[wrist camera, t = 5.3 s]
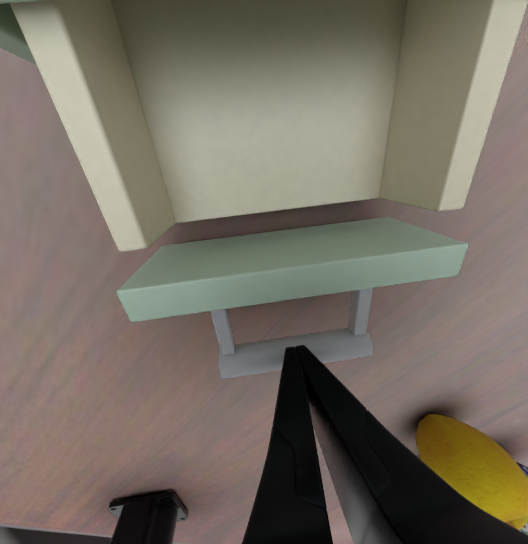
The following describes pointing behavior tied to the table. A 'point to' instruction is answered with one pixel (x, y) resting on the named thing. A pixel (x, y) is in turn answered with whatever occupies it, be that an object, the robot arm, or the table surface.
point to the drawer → (274, 142)
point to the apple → (474, 467)
